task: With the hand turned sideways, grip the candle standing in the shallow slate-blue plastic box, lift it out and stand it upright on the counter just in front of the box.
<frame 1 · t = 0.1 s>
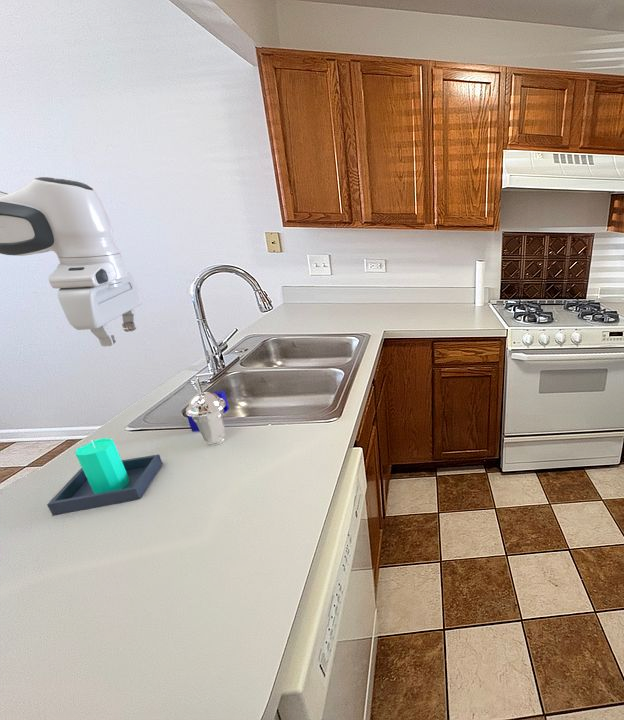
hand: (120, 337, 82), 32 cm above the table, tool pointing down, fingers open, 8 cm apart
cable clip: (209, 420, 113), on the table
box: (112, 487, 87), on the table
candle: (112, 487, 87), resting on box
drinking straw: (217, 441, 103), on the table
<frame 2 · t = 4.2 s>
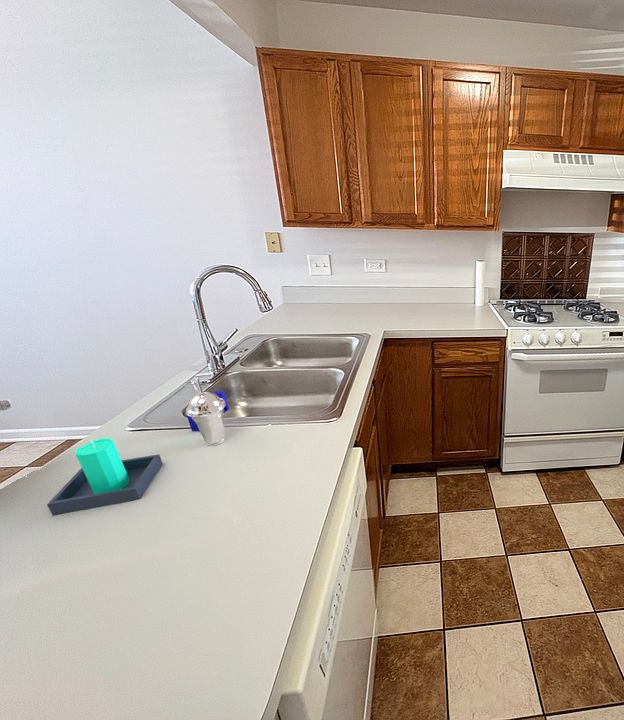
nothing on the table moved.
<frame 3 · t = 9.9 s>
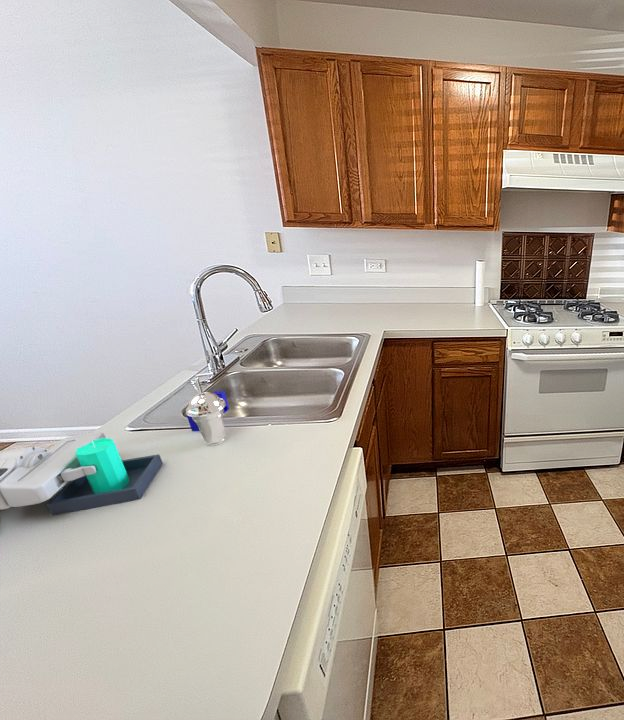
hand: (105, 459, 84), 7 cm above the table, tool horizontal, fingers closed on candle, 5 cm apart
candle: (112, 487, 87), resting on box, touching gripper
everything else where it was.
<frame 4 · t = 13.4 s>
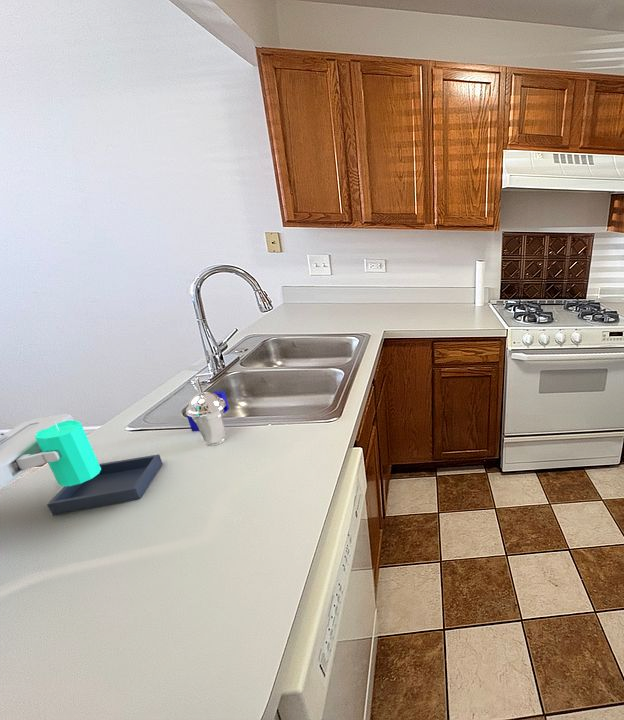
hand: (71, 444, 73), 17 cm above the table, tool horizontal, fingers closed on candle, 5 cm apart
candle: (80, 476, 75), point 10 cm above the table, touching gripper
everything else where it was.
when the fingers open (7 cm above the table, at t = 16.8 s): candle stays where it is, on the table.
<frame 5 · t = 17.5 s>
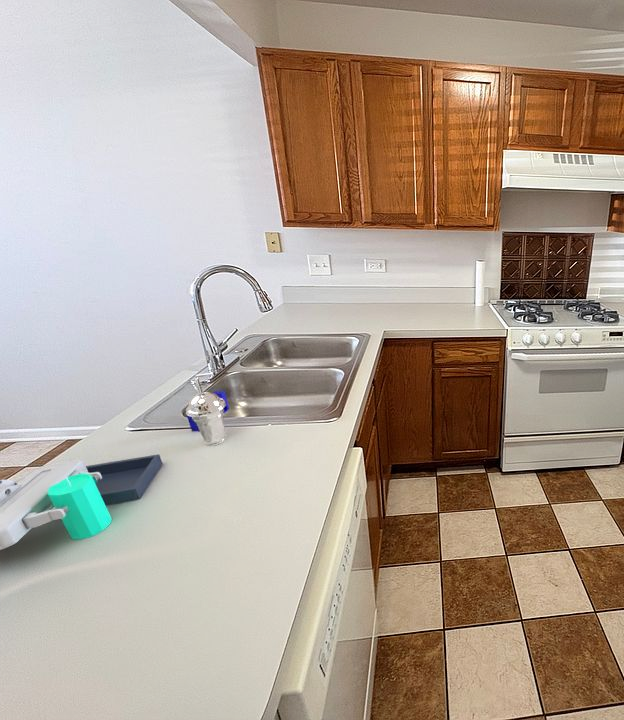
hand: (83, 493, 74), 8 cm above the table, tool horizontal, fingers open, 8 cm apart
candle: (91, 528, 76), on the table
everything else where it was.
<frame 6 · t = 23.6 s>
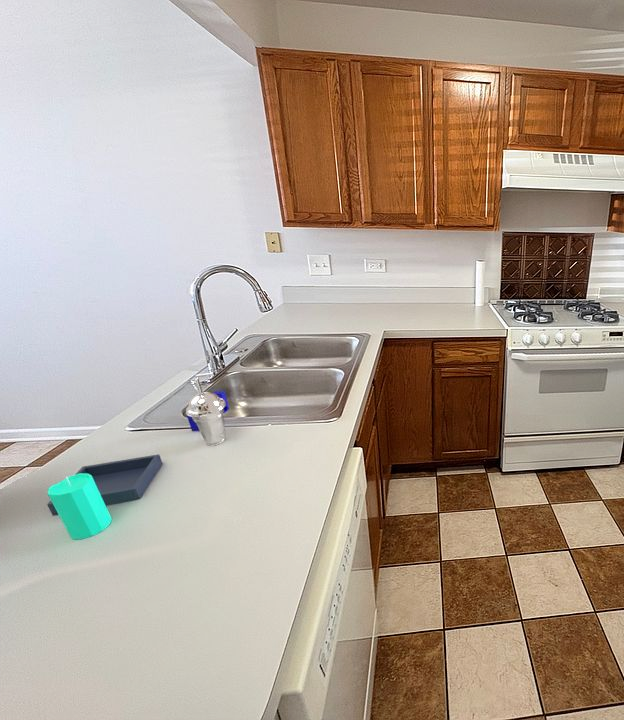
nothing on the table moved.
at the end: candle inside the target area (0.6 cm from its centre), on the table; candle tilted 0°; the gripper is holding nothing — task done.
